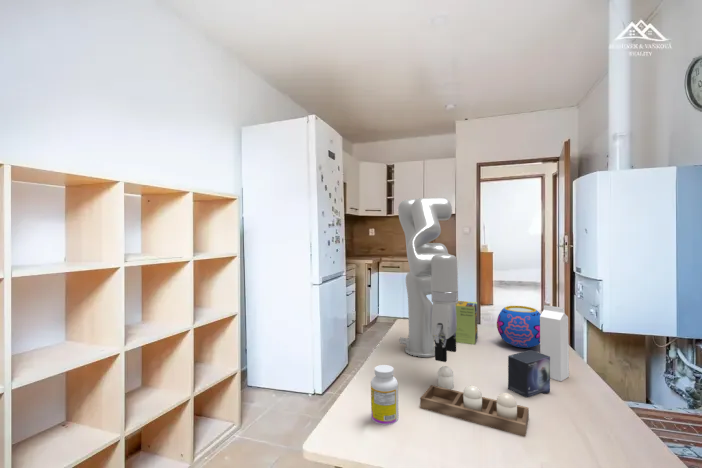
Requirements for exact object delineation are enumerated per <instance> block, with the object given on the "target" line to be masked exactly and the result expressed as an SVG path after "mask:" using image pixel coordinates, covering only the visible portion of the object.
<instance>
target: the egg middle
mask: <svg viewBox="0 0 702 468" xmlns="http://www.w3.org/2000/svg"><path fill="white" fill-rule="evenodd" d="M462 392H463V406H464V408H468V409H472V410H476V411H480V412H482V397H483V394H482V391H481V390H480V389H479V387H477V386H476V385H472V384H471V385H467V386H466V387H465V388H464V390H463V391H462Z"/></svg>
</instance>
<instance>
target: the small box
mask: <svg viewBox="0 0 702 468" xmlns="http://www.w3.org/2000/svg"><path fill="white" fill-rule="evenodd" d="M507 357H508V358H507V360H508V361H507V362H508V363H507V371H508V372H507V390H509V391H511V392H513V393H515V394H517V395H520V396H521V397H524V398H527V399H528V398H532V397H534V396H538V395H539V394H542V395H546V394H548V393H551V378H550V356H547V355H544V354H541V353H540V352H538V351H535V350H532V349H530V350H525V351H521V352H518V353H513V354H510V355H509V354H508V356H507Z"/></svg>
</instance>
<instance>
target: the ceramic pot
mask: <svg viewBox="0 0 702 468" xmlns="http://www.w3.org/2000/svg"><path fill="white" fill-rule="evenodd" d="M541 314H542V313H540V312H539V311H538V310H537V309H536V308H534V307H530V306H525V305H524V306H523V305H507V306H505V307H503V308H502V309H501V310H500V312H499V314H498V315H497V318H496V328H497V332H498V333H499V336H500V337H501V339H502V340H503V341H504V342H506V344H509V345H511V346H513V347H516V348H519V349H526V348H527V349H528V348H534V347H535V346H538V345H540V315H541Z"/></svg>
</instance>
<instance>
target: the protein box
mask: <svg viewBox="0 0 702 468" xmlns="http://www.w3.org/2000/svg"><path fill="white" fill-rule="evenodd" d="M455 305H456V319H457V329H456V332H455V333H456V343H461V344H468V345H476V343H477V341H478V337H479V336H478V335H479V334H478V332H479V331H478V327H479V326H478V302H477V301H464V300H463V301H462V300H458V303H455ZM441 336H444V335H441ZM441 340H442V341H443V339H441Z"/></svg>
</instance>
